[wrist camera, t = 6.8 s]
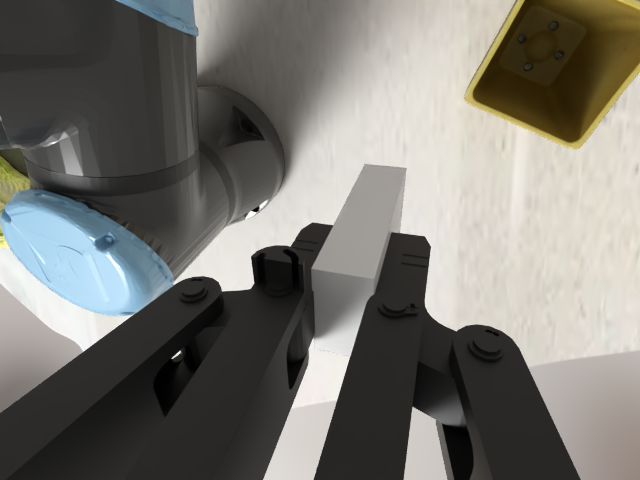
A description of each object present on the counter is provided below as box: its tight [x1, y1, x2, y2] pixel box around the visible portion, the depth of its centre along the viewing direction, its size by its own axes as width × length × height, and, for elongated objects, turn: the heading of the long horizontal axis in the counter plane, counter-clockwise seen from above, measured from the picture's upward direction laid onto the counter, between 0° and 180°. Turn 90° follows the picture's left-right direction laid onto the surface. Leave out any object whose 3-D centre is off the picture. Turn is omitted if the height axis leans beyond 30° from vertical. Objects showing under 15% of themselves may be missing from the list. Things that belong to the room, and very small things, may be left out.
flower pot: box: [464, 0, 640, 149], centre depth 30 cm, size 9×9×9 cm
